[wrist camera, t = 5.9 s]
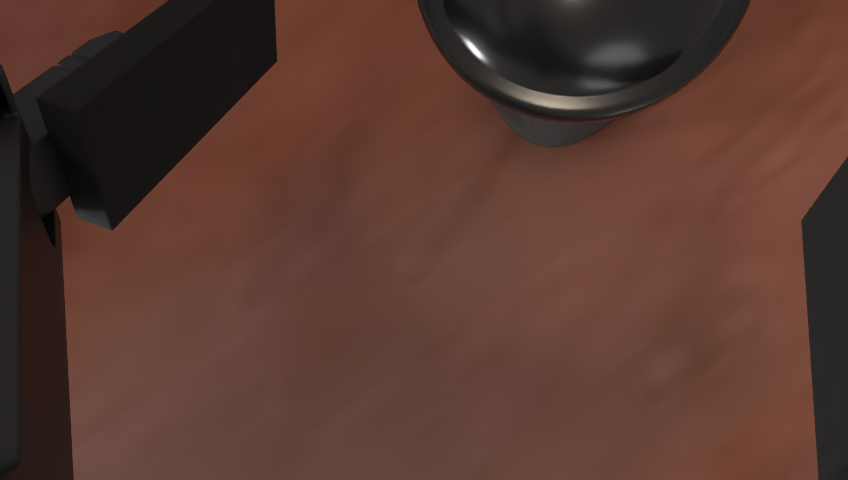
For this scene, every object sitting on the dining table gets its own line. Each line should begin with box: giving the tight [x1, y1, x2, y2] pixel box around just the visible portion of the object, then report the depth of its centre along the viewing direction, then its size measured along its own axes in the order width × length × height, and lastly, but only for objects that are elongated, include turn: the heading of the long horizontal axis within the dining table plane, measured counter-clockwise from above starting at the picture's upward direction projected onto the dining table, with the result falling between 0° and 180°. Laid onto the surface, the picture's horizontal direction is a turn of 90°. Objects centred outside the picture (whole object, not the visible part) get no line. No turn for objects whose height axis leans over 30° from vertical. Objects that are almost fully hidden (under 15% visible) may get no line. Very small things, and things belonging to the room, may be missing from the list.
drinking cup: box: [418, 0, 750, 147], centre depth 19 cm, size 8×8×20 cm
